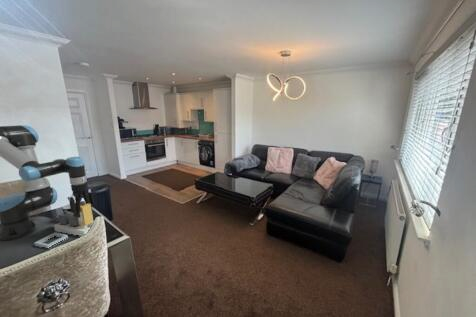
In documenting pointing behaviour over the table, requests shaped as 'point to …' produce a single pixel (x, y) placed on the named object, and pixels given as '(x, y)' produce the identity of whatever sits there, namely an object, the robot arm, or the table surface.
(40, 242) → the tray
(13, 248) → the table surface
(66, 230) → the strip
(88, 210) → the plug
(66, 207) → the mug
